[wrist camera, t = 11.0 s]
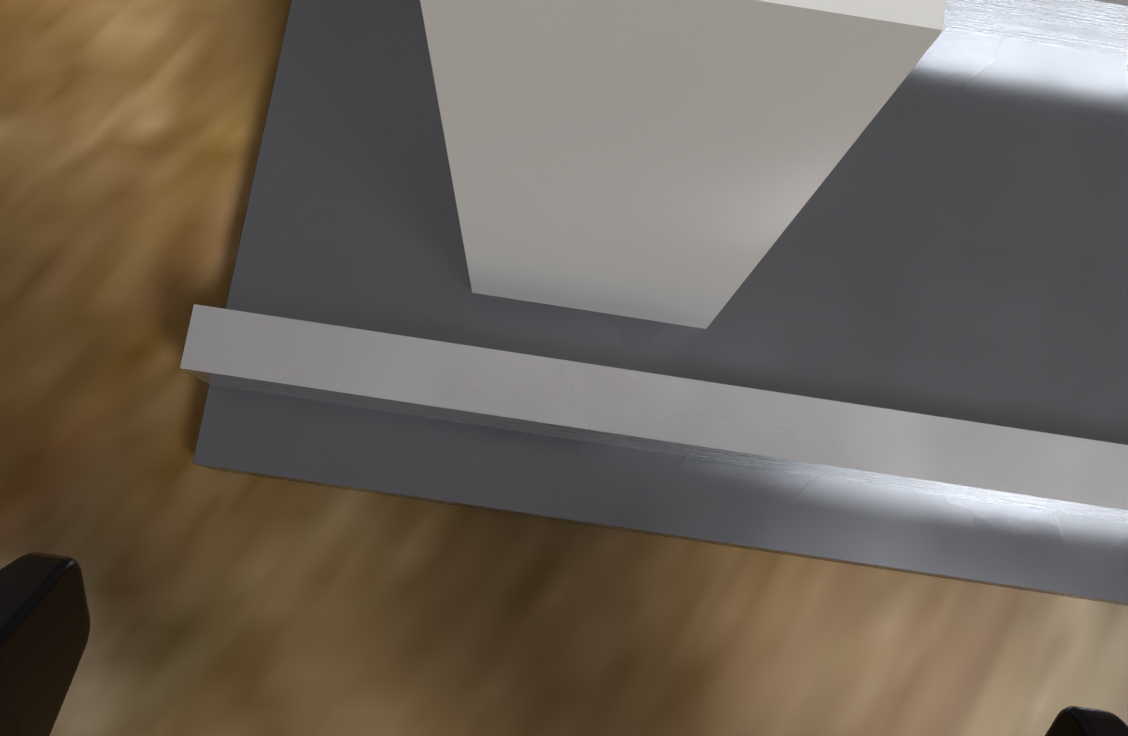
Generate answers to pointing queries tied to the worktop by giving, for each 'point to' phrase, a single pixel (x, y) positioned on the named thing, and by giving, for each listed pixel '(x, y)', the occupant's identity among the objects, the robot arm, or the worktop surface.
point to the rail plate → (716, 323)
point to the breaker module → (652, 136)
